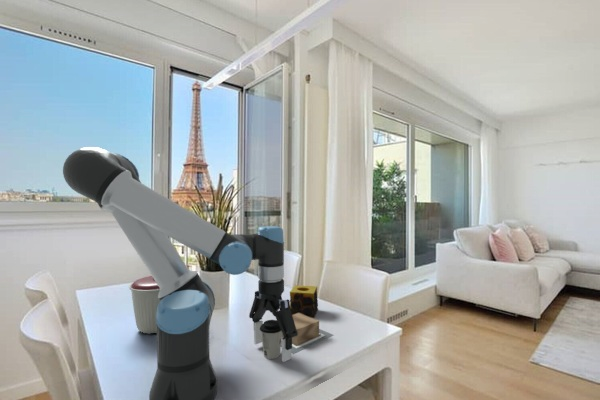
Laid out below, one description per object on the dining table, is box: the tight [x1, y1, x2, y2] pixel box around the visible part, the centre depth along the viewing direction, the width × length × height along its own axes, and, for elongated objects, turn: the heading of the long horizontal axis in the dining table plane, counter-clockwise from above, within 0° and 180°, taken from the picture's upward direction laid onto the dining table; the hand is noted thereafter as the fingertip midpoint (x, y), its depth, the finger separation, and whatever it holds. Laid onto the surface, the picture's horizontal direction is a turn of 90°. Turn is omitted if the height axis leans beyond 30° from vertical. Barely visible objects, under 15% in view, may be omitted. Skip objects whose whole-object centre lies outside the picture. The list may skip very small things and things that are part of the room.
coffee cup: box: [260, 319, 282, 360], centre depth 91 cm, size 7×7×10 cm
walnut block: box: [282, 313, 320, 346], centre depth 103 cm, size 10×10×5 cm
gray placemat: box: [281, 328, 334, 355], centre depth 103 cm, size 18×16×1 cm
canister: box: [128, 275, 160, 334], centre depth 111 cm, size 18×18×21 cm
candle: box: [289, 285, 319, 319], centre depth 124 cm, size 10×10×10 cm
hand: (271, 350), depth 91 cm, fingers open, 13 cm apart
